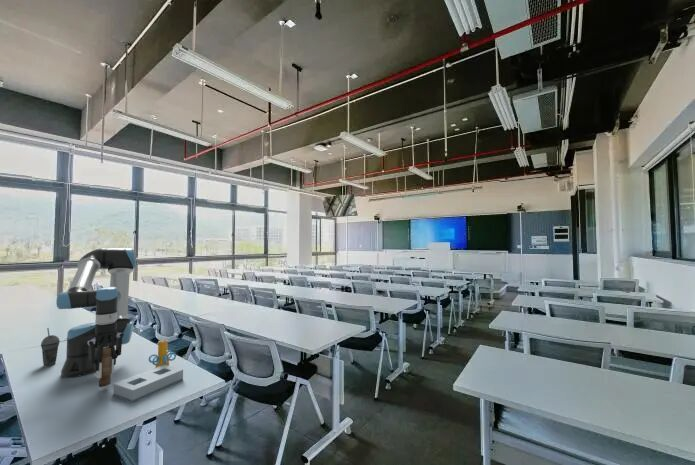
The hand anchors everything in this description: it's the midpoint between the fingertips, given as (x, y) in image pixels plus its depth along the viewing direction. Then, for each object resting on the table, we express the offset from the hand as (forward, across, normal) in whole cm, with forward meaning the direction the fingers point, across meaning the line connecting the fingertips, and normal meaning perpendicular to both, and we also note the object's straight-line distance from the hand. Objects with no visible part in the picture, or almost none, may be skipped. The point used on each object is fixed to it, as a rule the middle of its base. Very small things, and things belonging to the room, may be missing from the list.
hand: (104, 375), depth 131 cm
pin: (+4, 0, 0) cm, 4 cm away
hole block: (+6, +10, -16) cm, 20 cm away
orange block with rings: (+7, +24, -3) cm, 25 cm away
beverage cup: (+7, +3, +60) cm, 60 cm away
